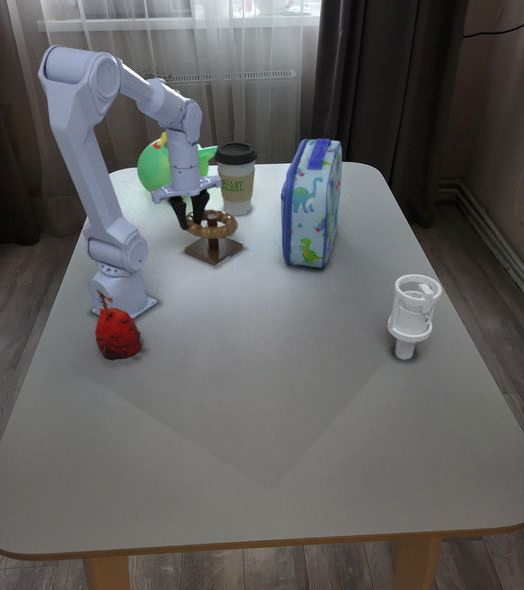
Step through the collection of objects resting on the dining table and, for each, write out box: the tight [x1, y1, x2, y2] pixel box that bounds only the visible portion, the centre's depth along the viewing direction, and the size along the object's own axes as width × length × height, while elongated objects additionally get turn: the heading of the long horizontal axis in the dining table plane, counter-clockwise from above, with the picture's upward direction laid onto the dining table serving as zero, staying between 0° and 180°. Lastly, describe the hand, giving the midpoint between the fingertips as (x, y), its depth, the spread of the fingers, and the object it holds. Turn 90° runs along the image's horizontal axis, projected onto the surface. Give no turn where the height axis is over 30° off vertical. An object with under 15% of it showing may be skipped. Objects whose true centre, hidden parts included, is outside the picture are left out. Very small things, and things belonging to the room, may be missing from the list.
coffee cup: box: [213, 140, 258, 216], centre depth 130 cm, size 10×10×15 cm
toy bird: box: [136, 131, 219, 199], centre depth 136 cm, size 18×17×15 cm
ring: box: [185, 208, 239, 239], centre depth 118 cm, size 12×12×2 cm
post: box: [184, 214, 244, 267], centre depth 118 cm, size 9×9×8 cm
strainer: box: [387, 273, 442, 360], centre depth 91 cm, size 7×7×15 cm
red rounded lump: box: [94, 287, 142, 361], centre depth 91 cm, size 8×7×15 cm
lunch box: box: [280, 138, 343, 269], centre depth 116 cm, size 26×11×21 cm, turn 168°
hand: (190, 226), depth 116 cm, fingers closed on ring, 3 cm apart
